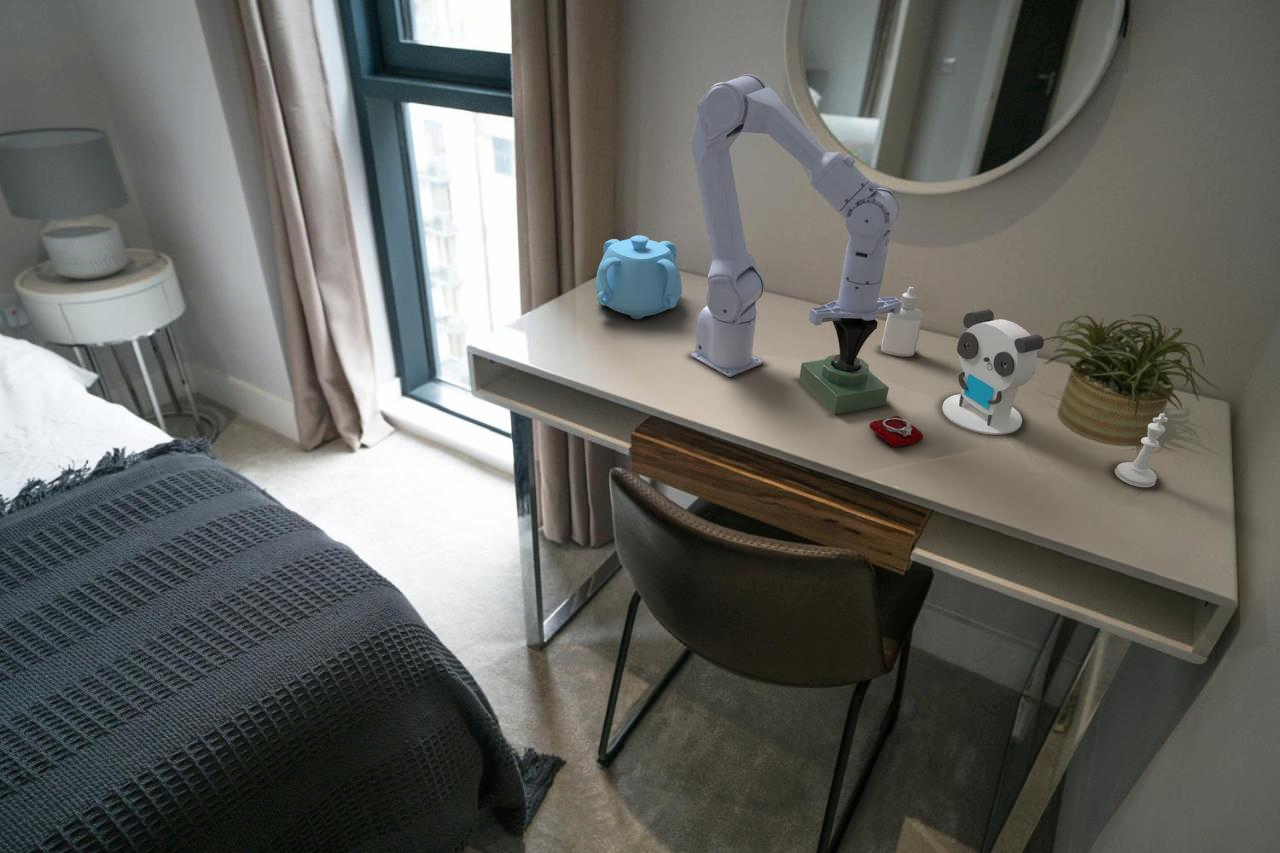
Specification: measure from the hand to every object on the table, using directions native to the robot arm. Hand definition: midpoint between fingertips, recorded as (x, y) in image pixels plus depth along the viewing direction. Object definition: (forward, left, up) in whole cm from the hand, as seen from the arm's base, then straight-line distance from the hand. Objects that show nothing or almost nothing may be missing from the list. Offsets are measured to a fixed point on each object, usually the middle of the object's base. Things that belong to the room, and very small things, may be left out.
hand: (847, 360), depth 121 cm
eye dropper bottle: (-3, +19, -6) cm, 20 cm away
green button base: (0, 0, -6) cm, 6 cm away
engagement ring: (+13, -4, -6) cm, 15 cm away
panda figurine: (+17, +12, -6) cm, 22 cm away
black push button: (0, 0, -2) cm, 2 cm away
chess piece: (+39, +14, -6) cm, 42 cm away
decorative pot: (-45, -5, -6) cm, 46 cm away
